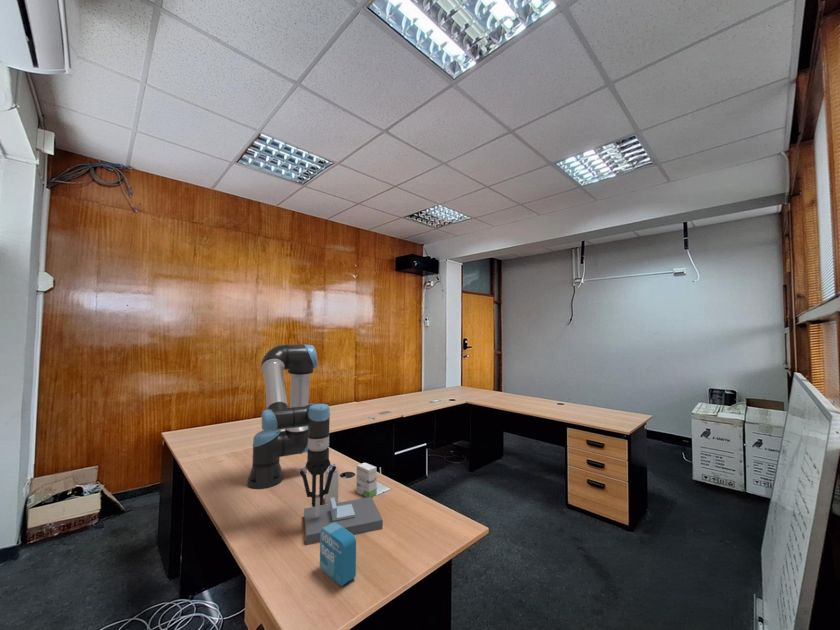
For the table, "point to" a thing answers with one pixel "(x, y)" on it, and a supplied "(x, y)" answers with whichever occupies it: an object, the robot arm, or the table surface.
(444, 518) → the table surface
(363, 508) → the socket block
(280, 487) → the table surface
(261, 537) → the table surface
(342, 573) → the data package
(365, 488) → the ink box
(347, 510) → the light blue l-shaped block
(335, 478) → the plug
